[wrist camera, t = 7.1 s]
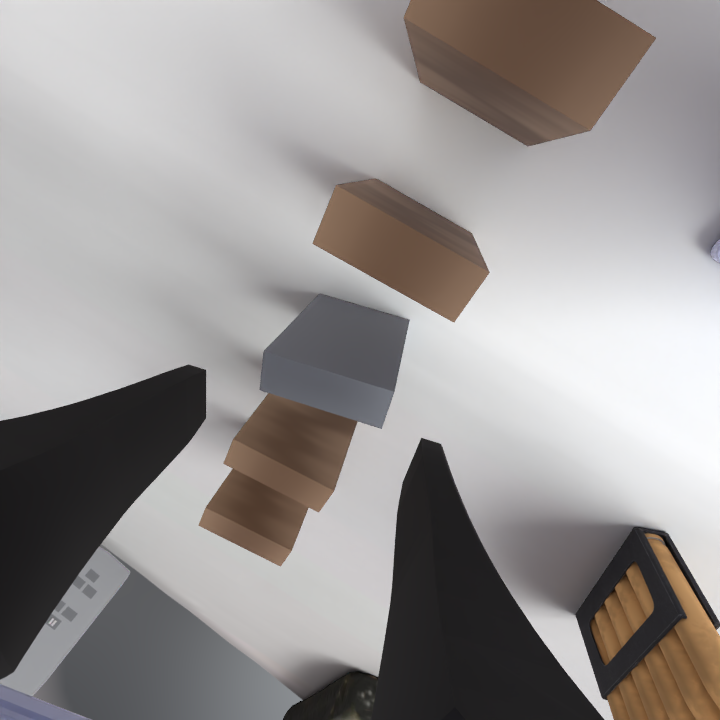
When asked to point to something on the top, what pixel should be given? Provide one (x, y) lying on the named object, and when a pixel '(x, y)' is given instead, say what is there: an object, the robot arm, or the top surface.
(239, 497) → the walnut domino
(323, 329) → the charcoal domino
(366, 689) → the network switch
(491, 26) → the walnut domino
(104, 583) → the office telephone
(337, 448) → the walnut domino
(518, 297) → the top surface
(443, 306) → the walnut domino
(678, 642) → the ammunition clip
